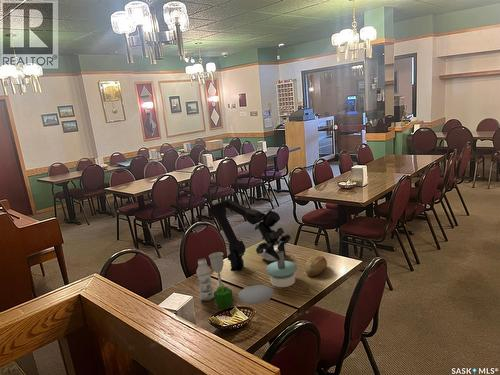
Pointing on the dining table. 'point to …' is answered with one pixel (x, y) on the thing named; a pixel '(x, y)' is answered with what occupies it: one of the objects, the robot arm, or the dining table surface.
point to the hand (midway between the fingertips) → (282, 258)
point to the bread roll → (315, 265)
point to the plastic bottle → (205, 280)
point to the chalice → (217, 264)
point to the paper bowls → (269, 257)
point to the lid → (281, 266)
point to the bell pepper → (223, 297)
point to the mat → (255, 294)
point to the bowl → (282, 280)
